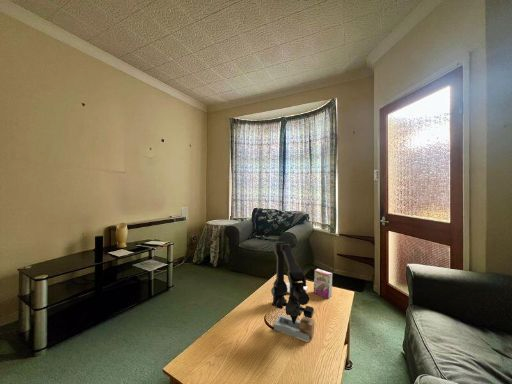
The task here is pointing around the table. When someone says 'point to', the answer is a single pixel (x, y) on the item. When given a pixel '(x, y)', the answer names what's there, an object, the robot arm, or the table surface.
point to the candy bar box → (323, 283)
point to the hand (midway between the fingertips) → (294, 323)
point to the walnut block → (307, 326)
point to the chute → (290, 328)
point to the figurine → (289, 287)
